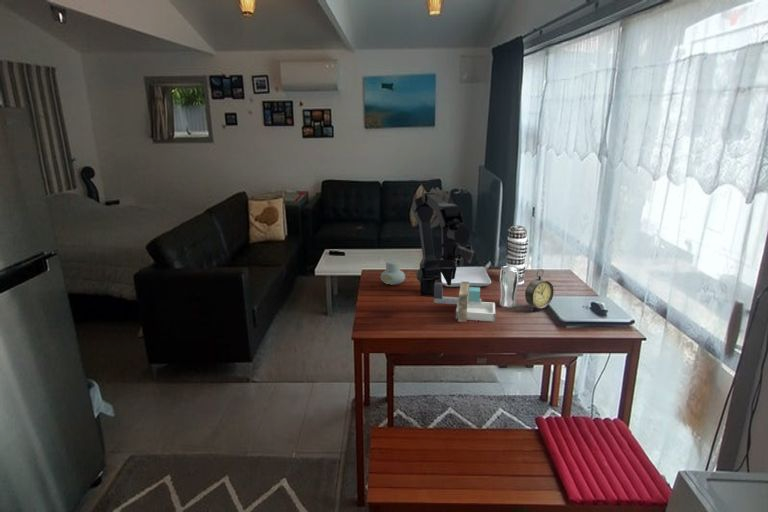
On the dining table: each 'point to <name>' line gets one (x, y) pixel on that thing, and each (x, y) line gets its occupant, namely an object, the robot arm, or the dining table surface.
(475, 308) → the tray
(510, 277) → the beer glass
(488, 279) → the salad plate
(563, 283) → the dining table surface
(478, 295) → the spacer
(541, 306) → the alarm clock
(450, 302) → the grey l-shaped block
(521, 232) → the decorative candle
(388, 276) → the air freshener
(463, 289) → the guide frame
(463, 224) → the robot arm
